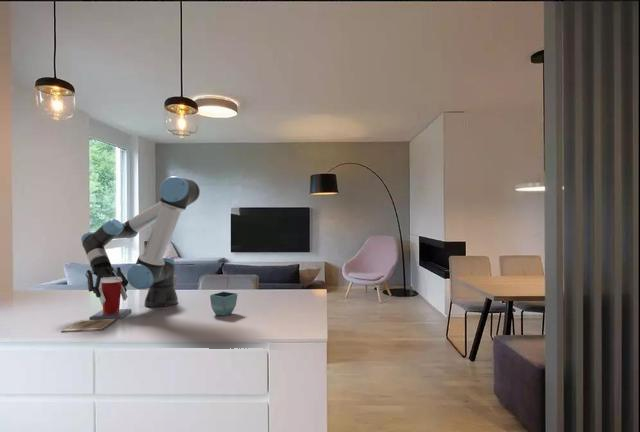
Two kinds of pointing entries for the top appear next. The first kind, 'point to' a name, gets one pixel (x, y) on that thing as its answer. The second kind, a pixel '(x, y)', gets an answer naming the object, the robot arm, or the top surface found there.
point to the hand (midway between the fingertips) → (114, 300)
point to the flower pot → (223, 303)
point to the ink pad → (110, 315)
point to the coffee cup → (111, 294)
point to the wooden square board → (90, 325)
